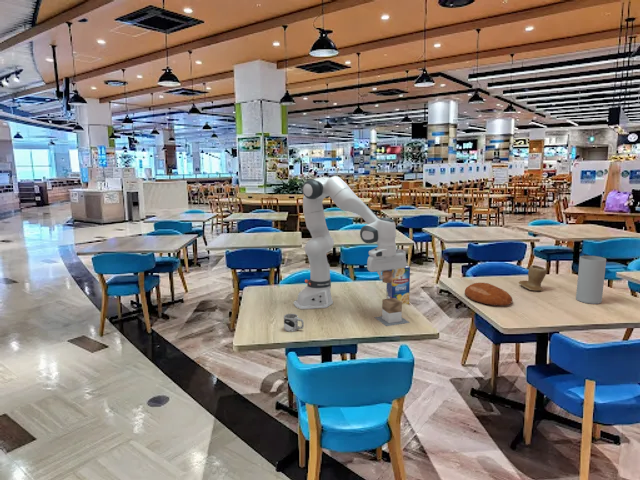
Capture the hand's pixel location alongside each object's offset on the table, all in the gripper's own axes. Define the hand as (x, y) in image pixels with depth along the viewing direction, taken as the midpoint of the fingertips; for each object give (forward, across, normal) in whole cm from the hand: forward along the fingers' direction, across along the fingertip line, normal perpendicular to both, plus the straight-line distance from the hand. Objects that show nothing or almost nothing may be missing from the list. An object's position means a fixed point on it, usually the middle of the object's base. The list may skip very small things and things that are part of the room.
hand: (387, 278), depth 207 cm
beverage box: (+23, -18, -22) cm, 36 cm away
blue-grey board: (+22, -1, +2) cm, 23 cm away
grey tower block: (+21, -1, +2) cm, 21 cm away
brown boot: (+25, -112, -19) cm, 116 cm away
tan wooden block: (+16, -1, +2) cm, 16 cm away
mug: (+22, +47, -7) cm, 52 cm away
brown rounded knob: (+2, 0, 0) cm, 2 cm away
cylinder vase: (+26, -122, +11) cm, 125 cm away
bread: (+24, -72, -12) cm, 77 cm away
